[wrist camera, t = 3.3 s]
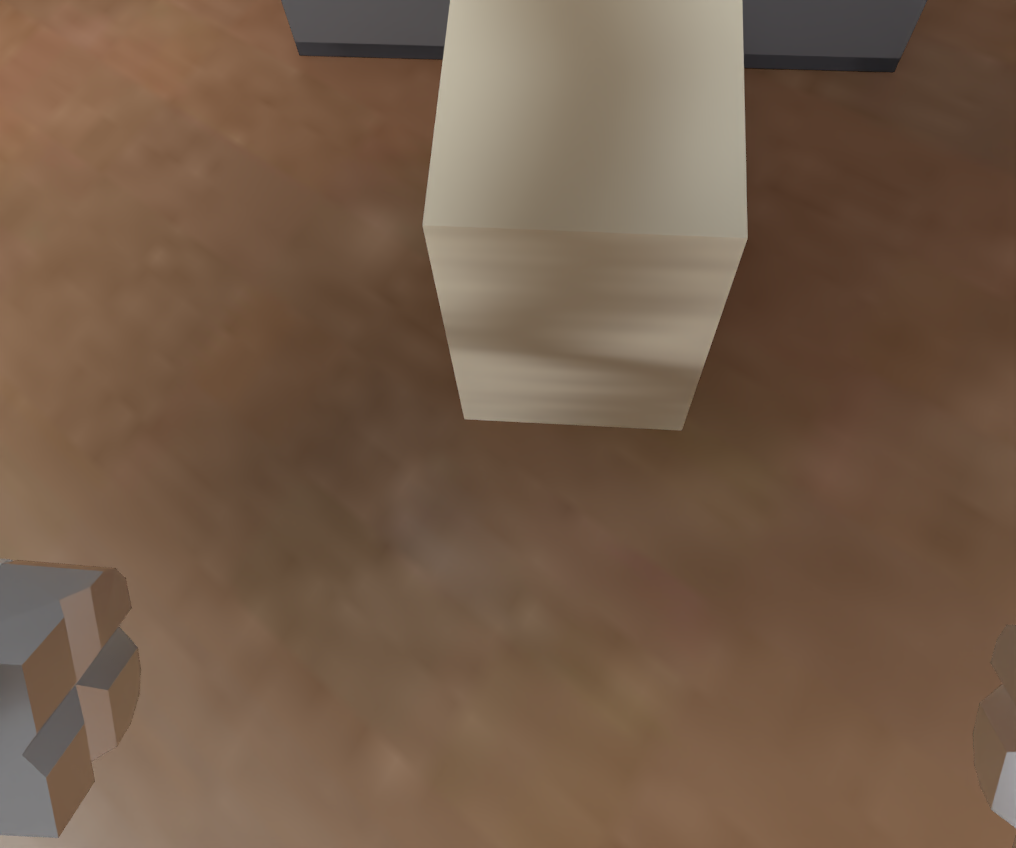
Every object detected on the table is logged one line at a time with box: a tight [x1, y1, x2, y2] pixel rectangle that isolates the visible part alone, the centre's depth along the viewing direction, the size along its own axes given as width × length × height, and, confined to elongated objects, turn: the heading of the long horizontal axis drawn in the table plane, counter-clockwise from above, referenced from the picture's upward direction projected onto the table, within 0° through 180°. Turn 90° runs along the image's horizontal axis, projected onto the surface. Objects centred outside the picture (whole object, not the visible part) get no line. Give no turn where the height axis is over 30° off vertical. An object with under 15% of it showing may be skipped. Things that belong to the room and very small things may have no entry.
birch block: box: [422, 0, 748, 431], centre depth 20 cm, size 5×5×8 cm
